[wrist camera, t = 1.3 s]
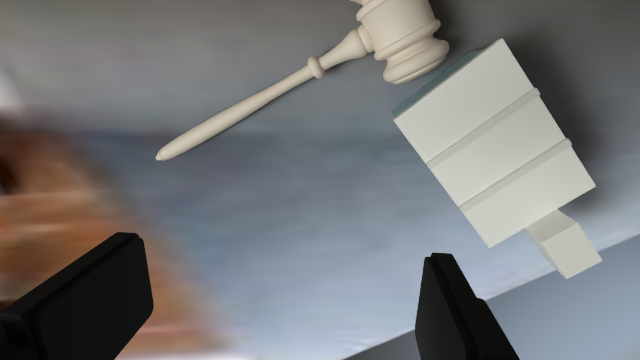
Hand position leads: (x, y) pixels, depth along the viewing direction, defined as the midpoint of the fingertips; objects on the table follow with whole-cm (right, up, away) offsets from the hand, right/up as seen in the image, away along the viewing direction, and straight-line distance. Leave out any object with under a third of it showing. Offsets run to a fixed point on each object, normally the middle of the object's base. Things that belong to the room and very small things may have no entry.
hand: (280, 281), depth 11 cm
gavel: (-3, +13, +24) cm, 27 cm away
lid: (+17, +4, +18) cm, 25 cm away
